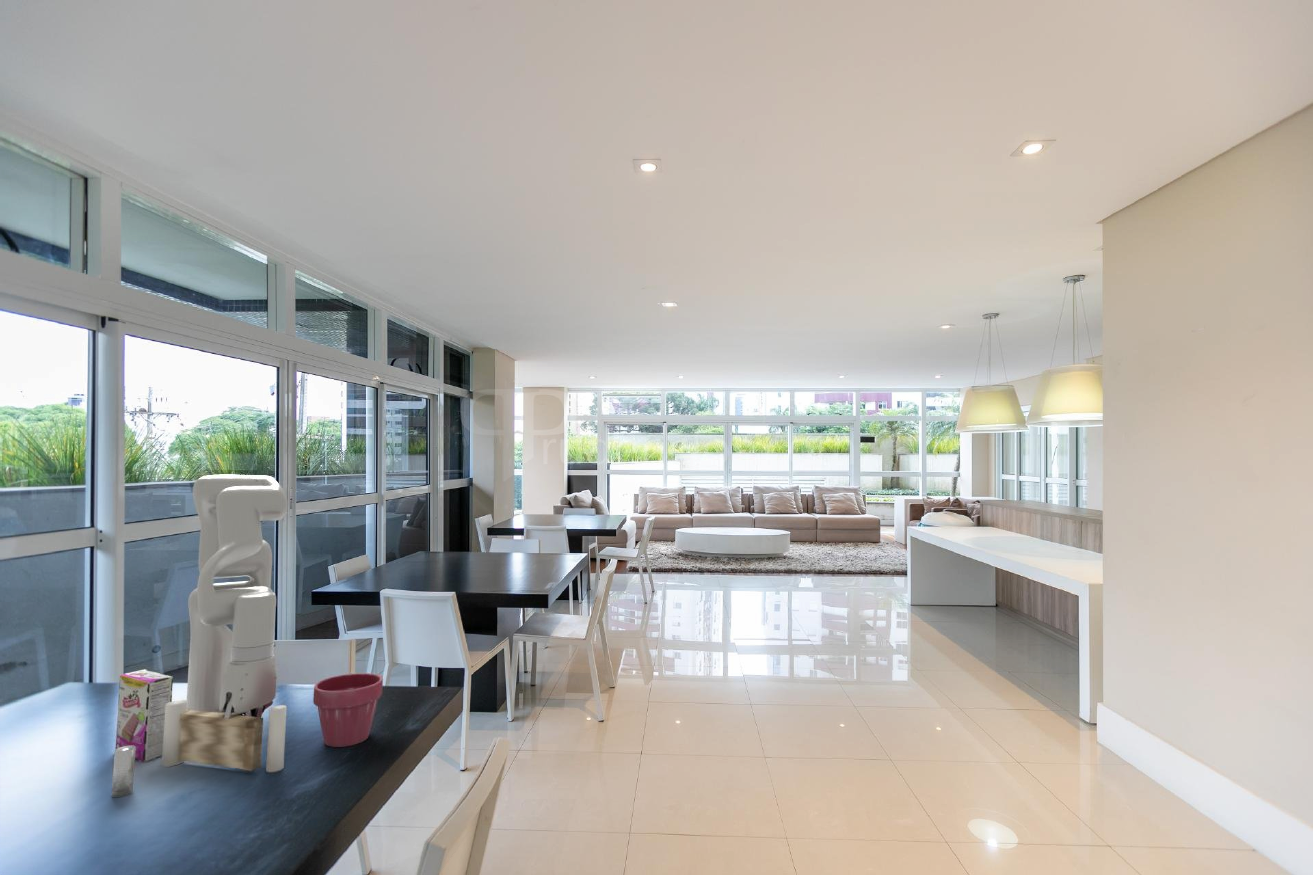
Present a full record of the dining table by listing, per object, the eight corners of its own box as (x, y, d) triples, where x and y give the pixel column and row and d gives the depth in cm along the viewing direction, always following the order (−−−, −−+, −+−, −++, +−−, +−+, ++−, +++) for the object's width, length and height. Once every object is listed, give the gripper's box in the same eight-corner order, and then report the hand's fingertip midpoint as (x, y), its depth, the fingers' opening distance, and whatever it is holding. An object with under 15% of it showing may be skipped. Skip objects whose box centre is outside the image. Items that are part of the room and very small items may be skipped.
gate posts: (172, 758, 133) (175, 699, 134) (287, 765, 131) (290, 705, 131) (156, 765, 130) (161, 705, 130) (275, 773, 127) (278, 711, 128)
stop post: (122, 788, 120) (125, 744, 120) (136, 789, 120) (139, 745, 120) (107, 796, 117) (110, 751, 117) (122, 797, 117) (125, 752, 117)
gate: (177, 760, 130) (180, 713, 130) (187, 756, 132) (190, 709, 132) (251, 770, 126) (254, 721, 126) (260, 765, 128) (263, 717, 129)
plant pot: (336, 725, 152) (338, 670, 153) (392, 728, 151) (394, 673, 152) (296, 750, 138) (299, 689, 139) (358, 753, 136) (360, 692, 137)
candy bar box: (112, 753, 135) (118, 674, 136) (139, 744, 140) (145, 668, 141) (142, 763, 130) (148, 681, 132) (169, 754, 135) (175, 675, 136)
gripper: (268, 642, 142) (263, 727, 141) (205, 660, 128) (199, 755, 126) (295, 645, 140) (291, 731, 139) (235, 663, 126) (229, 759, 125)
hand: (247, 742), depth 133 cm, fingers closed
